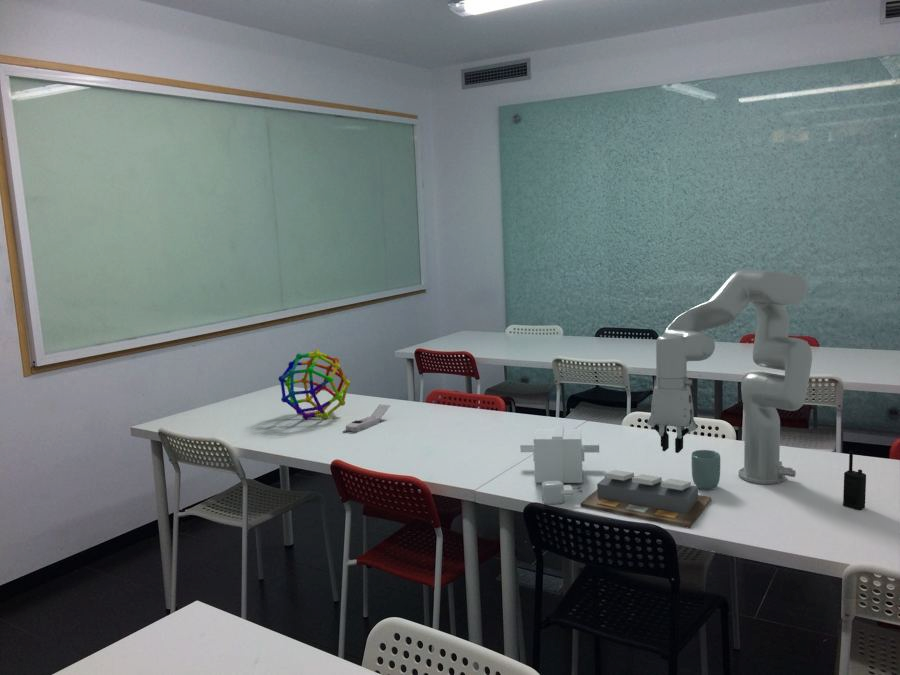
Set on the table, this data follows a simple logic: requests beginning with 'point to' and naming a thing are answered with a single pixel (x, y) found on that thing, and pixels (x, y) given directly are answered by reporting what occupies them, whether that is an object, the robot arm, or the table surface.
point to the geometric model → (290, 383)
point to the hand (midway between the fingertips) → (671, 450)
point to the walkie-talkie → (854, 487)
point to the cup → (706, 469)
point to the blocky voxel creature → (558, 454)
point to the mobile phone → (367, 420)
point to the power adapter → (556, 492)
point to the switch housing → (648, 494)
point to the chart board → (648, 510)
